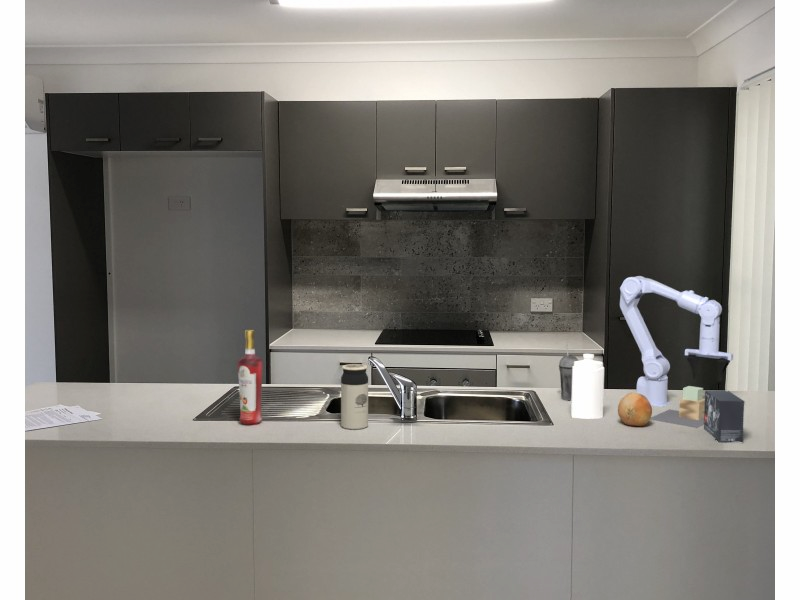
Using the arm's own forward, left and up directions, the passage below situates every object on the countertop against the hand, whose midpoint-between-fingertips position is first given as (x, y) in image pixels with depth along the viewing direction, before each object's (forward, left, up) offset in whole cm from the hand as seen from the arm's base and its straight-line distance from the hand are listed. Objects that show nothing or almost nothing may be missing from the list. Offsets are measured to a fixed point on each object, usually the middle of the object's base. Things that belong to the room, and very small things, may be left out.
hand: (707, 379), depth 231 cm
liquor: (-94, -111, -11) cm, 146 cm away
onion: (-9, -34, -11) cm, 37 cm away
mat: (-1, -16, -10) cm, 19 cm away
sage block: (0, -12, -4) cm, 13 cm away
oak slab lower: (0, -12, -10) cm, 16 cm away
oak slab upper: (0, -12, -7) cm, 14 cm away
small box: (+14, -27, -11) cm, 32 cm away
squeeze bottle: (-24, -35, -11) cm, 44 cm away
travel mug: (-69, -92, -11) cm, 115 cm away
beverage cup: (-41, -16, -11) cm, 45 cm away
